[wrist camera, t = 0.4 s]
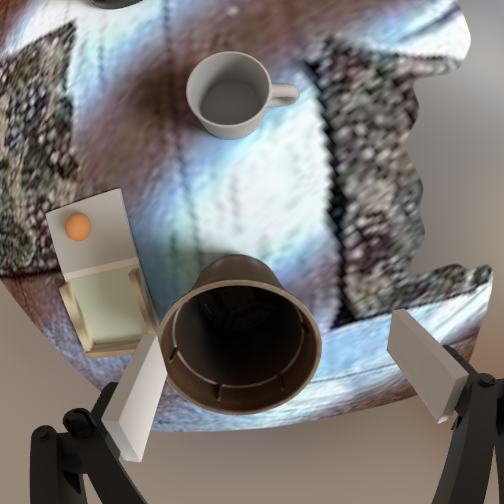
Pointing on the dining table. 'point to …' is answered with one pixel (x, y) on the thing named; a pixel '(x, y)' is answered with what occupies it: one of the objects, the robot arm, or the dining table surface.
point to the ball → (78, 226)
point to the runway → (101, 267)
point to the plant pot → (239, 340)
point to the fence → (113, 347)
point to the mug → (234, 94)
